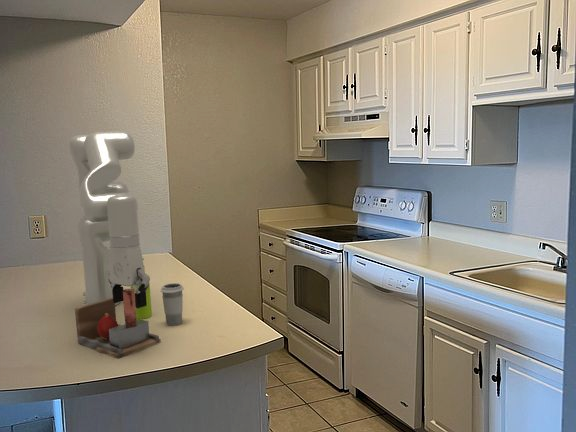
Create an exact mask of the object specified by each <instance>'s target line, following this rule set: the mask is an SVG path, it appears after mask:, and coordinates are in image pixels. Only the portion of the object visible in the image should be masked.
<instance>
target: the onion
mask: <svg viewBox="0 0 576 432" xmlns="http://www.w3.org/2000/svg"><path fill="white" fill-rule="evenodd" d="M118 324H119V323H118V321H117V319H116V320H115V319H114V318H113V317H111V316H110V315H109V314H108V313H105V314H104V317H103V318H101V319H100V321H99V322H98V325H97V332H98V334H99V335H100V336H101V338H103V339H105V340H106V341H110V339H109V329H111V328H114V327H117V326H118Z"/></svg>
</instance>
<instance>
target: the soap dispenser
mask: <svg viewBox="0 0 576 432" xmlns="http://www.w3.org/2000/svg"><path fill="white" fill-rule="evenodd" d="M142 258H143V261H144V259H145V258H144V256H143V255H142ZM144 272H145V273H146V271H145V268H144ZM147 275H148V276H149V274H147ZM149 277H150V276H149ZM137 286H138V287H140V285H137ZM130 289H134V288H133V286H130ZM135 293H136V291H135V289H134V294H135ZM151 298H152V297H151V286H150V282H149V286H148V288H147V291H146V301H147V305H146V306H144V307H141V308H136V320H138V319H141V320H143V319H144V320H145V319H149V318H151V317H152V314H153V313H152V301H151V300H152V299H151ZM135 307H136V306H135Z"/></svg>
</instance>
